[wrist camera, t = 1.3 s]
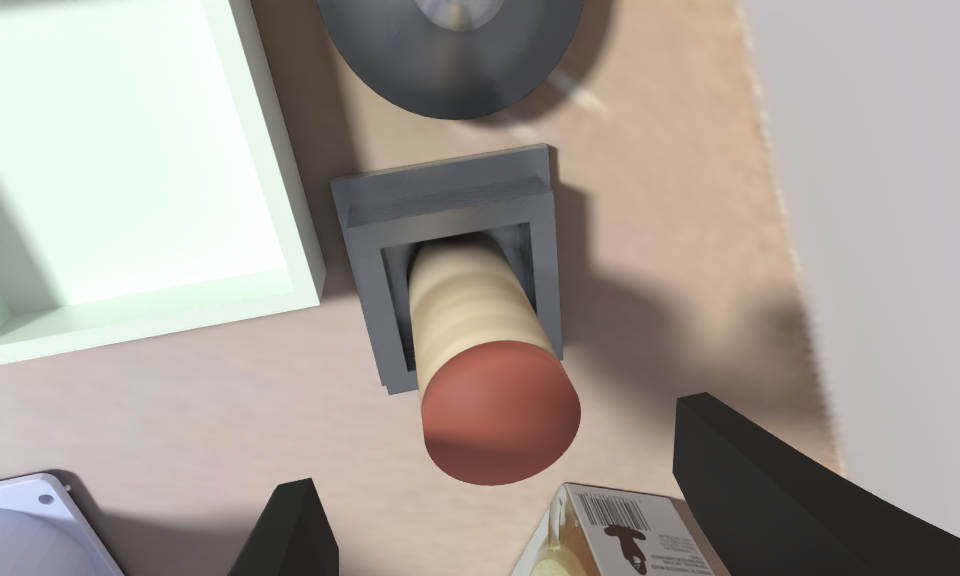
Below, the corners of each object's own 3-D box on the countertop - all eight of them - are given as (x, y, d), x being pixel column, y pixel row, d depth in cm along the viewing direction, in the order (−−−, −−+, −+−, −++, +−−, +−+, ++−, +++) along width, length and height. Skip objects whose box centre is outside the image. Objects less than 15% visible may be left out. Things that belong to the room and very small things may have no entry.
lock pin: (513, 310, 20) (582, 467, 13) (416, 329, 20) (437, 499, 13) (503, 219, 18) (578, 345, 12) (397, 238, 18) (410, 379, 11)
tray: (326, 269, 19) (320, 305, 17) (12, 326, 18) (-39, 371, 16) (225, -87, 14) (197, -103, 12) (-214, -34, 13) (-333, -42, 11)
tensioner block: (556, 343, 22) (575, 377, 20) (382, 378, 21) (382, 417, 19) (544, 143, 18) (565, 160, 16) (330, 178, 17) (324, 201, 15)
